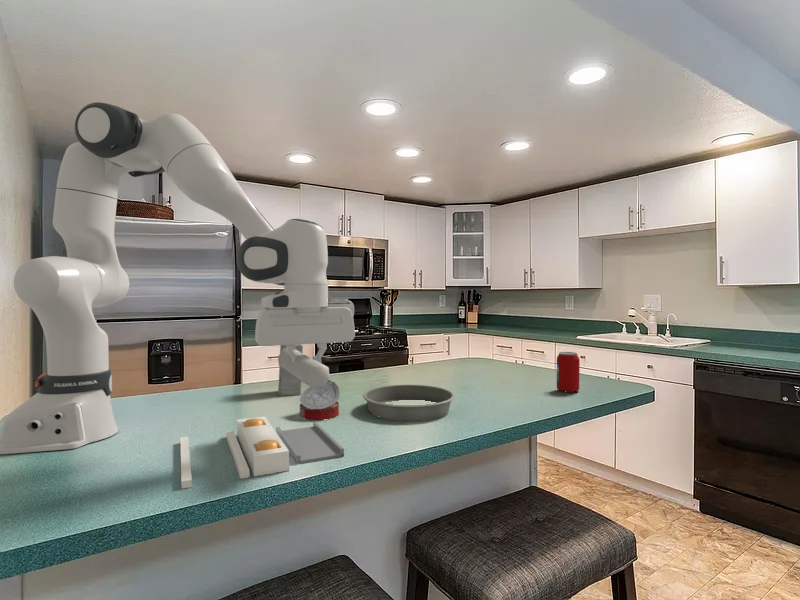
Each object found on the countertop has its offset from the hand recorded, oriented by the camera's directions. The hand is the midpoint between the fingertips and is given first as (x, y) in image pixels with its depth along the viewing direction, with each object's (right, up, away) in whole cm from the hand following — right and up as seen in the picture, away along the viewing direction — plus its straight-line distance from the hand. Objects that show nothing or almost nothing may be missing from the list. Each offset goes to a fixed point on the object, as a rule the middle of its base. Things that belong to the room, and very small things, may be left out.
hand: (306, 365), depth 96 cm
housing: (-14, -16, -6) cm, 22 cm away
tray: (0, -16, 0) cm, 16 cm away
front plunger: (-5, -16, -11) cm, 20 cm away
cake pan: (+22, -16, +28) cm, 39 cm away
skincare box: (-15, -16, +49) cm, 53 cm away
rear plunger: (-12, -16, +3) cm, 20 cm away
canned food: (-1, -16, +23) cm, 28 cm away
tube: (-1, -3, 0) cm, 3 cm away
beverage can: (+72, -15, +50) cm, 89 cm away
